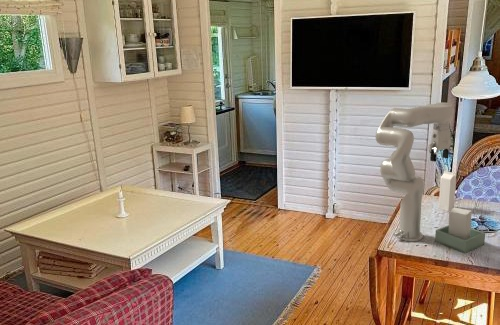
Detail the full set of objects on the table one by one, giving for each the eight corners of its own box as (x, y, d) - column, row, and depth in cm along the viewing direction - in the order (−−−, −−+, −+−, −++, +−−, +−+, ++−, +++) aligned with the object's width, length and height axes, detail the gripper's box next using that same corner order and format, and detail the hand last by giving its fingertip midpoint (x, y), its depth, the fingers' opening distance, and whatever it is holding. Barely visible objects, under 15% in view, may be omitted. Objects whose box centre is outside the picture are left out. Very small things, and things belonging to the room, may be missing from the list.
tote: (464, 253, 201) (465, 241, 200) (435, 241, 214) (435, 230, 213) (484, 244, 208) (485, 233, 207) (454, 233, 221) (455, 222, 220)
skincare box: (470, 241, 210) (473, 210, 206) (465, 246, 206) (468, 214, 202) (452, 236, 216) (454, 206, 212) (447, 241, 212) (449, 210, 208)
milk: (448, 211, 249) (450, 174, 243) (438, 208, 254) (440, 171, 248) (454, 208, 253) (456, 171, 247) (444, 206, 257) (446, 169, 252)
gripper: (436, 130, 220) (434, 163, 224) (458, 125, 228) (456, 158, 232) (423, 128, 226) (422, 161, 230) (445, 123, 234) (443, 155, 239)
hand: (439, 159), depth 231 cm, fingers open, 9 cm apart
